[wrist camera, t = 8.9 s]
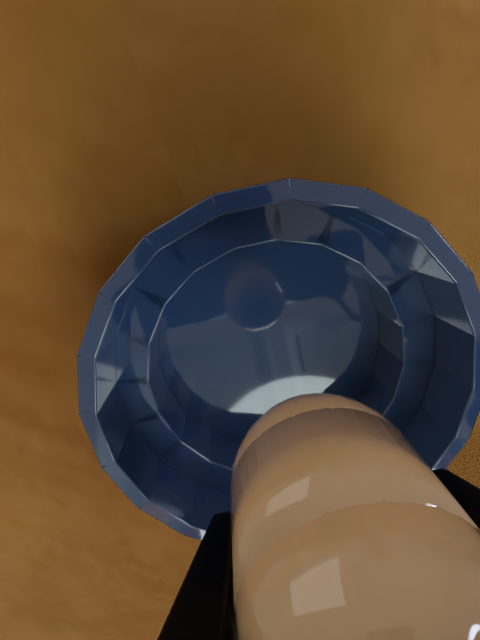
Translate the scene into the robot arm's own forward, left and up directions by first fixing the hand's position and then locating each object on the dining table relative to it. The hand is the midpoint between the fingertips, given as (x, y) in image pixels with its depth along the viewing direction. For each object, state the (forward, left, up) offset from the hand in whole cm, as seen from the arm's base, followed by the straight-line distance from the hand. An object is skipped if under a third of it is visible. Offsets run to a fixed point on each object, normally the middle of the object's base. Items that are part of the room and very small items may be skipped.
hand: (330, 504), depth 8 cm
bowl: (0, 0, -9) cm, 9 cm away
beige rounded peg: (0, 0, -2) cm, 3 cm away
